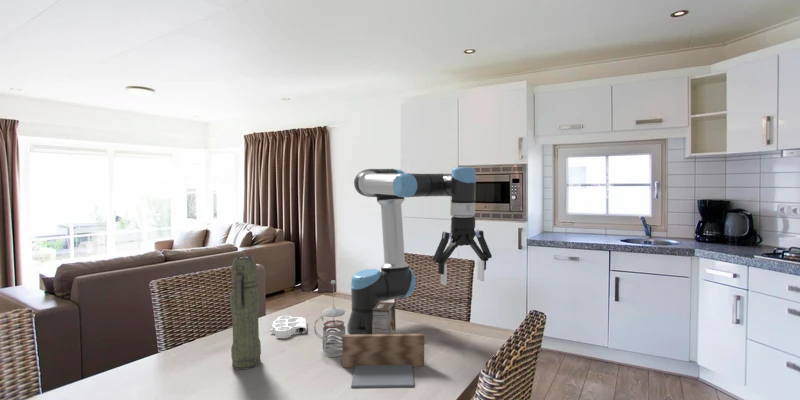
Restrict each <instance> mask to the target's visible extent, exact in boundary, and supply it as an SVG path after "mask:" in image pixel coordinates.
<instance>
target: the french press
mask: <svg viewBox="0 0 800 400" xmlns="http://www.w3.org/2000/svg"><path fill="white" fill-rule="evenodd" d="M330 284H331V285H332V295H333V296H332V298H333V300H332V301H333V306H331V307H328V308H326V309H324V310H322V312H321V314H322V315H321V316H319V317H317V318H316V320H315V322H314V326H313V328H314V329H313V330H314V334H315V335H316V337H318V338H319V339H322V348H321V349H320V351H319V353H320V355H321V356H324V357H328V358H330V357H331V358H335V357H341V356H343V348H342V336H343V335H346V326H345V322H344V321H343V320H340V319H339V320H338V319H337V320H335V319H333V320H332V319H331V320H327V321H326V322H324V323H323V328H322V335H320V334H319V333H318V332H317V330H316V324H317V322H319V320H321V321H322V322H323V321H324V316H325V317H328V318H335V317H342V316H344V315H345V313H346V310H345V309H343V308H341V307H339V306H338V307H337V306H335V293H334V292H335V289H334V285H336V284H337V281H336V280H334V279H332V280H331V281H330Z"/></svg>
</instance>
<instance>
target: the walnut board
mask: <svg viewBox="0 0 800 400" xmlns="http://www.w3.org/2000/svg"><path fill="white" fill-rule="evenodd" d="M341 339H342V341H341V342H342V348H343V355H342V368H355V365H412V367H425V334H424V333H396V334H354V335H352V334H345V335H343V336H342V338H341Z"/></svg>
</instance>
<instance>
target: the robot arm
mask: <svg viewBox="0 0 800 400" xmlns="http://www.w3.org/2000/svg"><path fill="white" fill-rule="evenodd" d="M451 169H452V170H451V173H410V172H408V173H407V172H404V171H403V170H402V169H397V168H396V169H395V168H367V169H363V170H361V171H359V172H358V173H357V174H356V176H355V178H354V180H353V181H354V182H353V186H354V189H355V190H356V192H357V193H358V194H359V195H361V196H364V197H367V198H376V202H377V203H378V205H380V210H381V226H382V227H381V231H382V246H383V248H382V249H383V260H384V261H383V262H384V263H383V264H382V265H381V267H380V268H381V269H380V270H379V269H377V268H370V269H369V268H367V269H362V270H359V271H357V272H354V274H353V275H352V276H351V281H350V290H351V291H350V293H351V297H350V298H351V311H350V315H349V319H348V321H347V329H346V330H347V333H349V335H354V334H372V309H373V308H374V307H375V306H376V305H377V304H378V303H379V302H386V301H392V300H398V299H400V300H401V299H404V298H408V297H409V296H411V295H412V294H413V293H414V290H415V288H416V280H417V279H416V275H415V274H414V273H415V272H414V271H413V269H411V268H410V265H409V264H408V263H407V262H406V259H405V257H406V256H405V242H404V241H405V239H404V225H403V214H402V213H403V212H402V210H403V209H402V204H403V203H404V201H405V198H416V197H417V198H419V197H422V198H423V197H427V198H428V197H451V201H450V202H451V204H450V205H451V208H450V209H451V210H450V211H451V212H450V214H451V215H452V217H451V218H450V220H451V221H450V225H451V226H450V228H451V231H450V232H447V231H442V233H441V239H440V242H439V244H438V246H437V248H436V251H435V253H434V255H433V257H432V261H433V262H434V263H436V264H438V274H440V284H441V285H442V286H447V285H448V284H447V283H448V281H447V280H448V277H447V276H448V264H447V263H446V262H447V261H448V259H449V258H450V257H451V255H452V254H453V252H454V251H455V249H457V248H458V247H463V246H470V248H471V249H472V250H473V252H474V253H475V254H476V256H478V258H479V259H477V280H478V281H480V282H484V281H485V271H486V269H487V262H488V261H489V259H492V258H493V256H492V253H491V251H490V248H489V246H488V244H487V241H486V239H485V233H484V231H483V230H480V229H477V230H475V228H476V217H475V216H476V196H477V195H476V193H477V192H476V190H477V188H476V187H477V185H476V184H477V176H476V169H475V167H469V166H465V167H459V166H458V167H453V168H451ZM475 237H476V239H477V241H478V244H479V245H478V244H477V241H476V240H475ZM450 239H451V240H450ZM449 241H450V242H449ZM447 245H448V246H447ZM479 246H480V247H479Z"/></svg>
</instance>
